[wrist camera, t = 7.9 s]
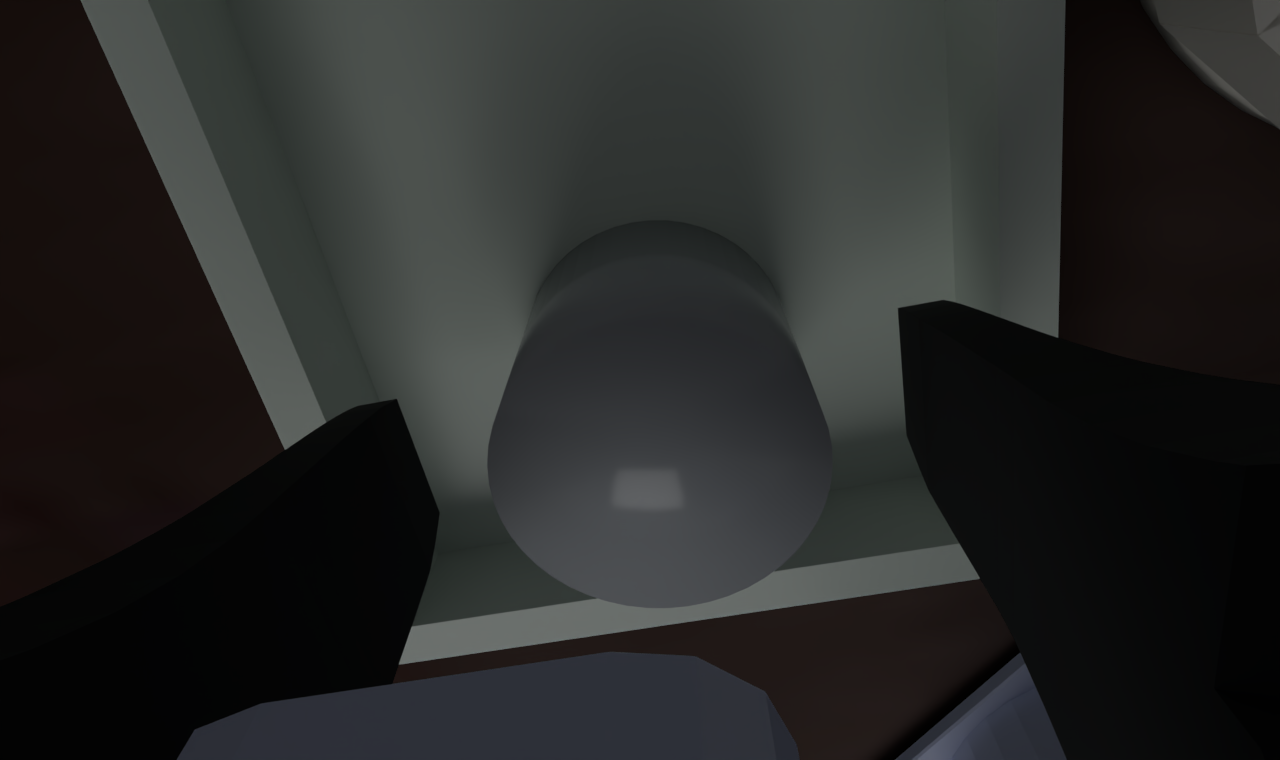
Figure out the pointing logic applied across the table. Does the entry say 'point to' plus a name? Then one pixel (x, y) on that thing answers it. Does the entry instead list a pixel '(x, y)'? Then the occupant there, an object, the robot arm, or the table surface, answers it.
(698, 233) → the pebble
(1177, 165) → the table surface
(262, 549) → the robot arm
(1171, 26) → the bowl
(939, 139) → the parts tray
